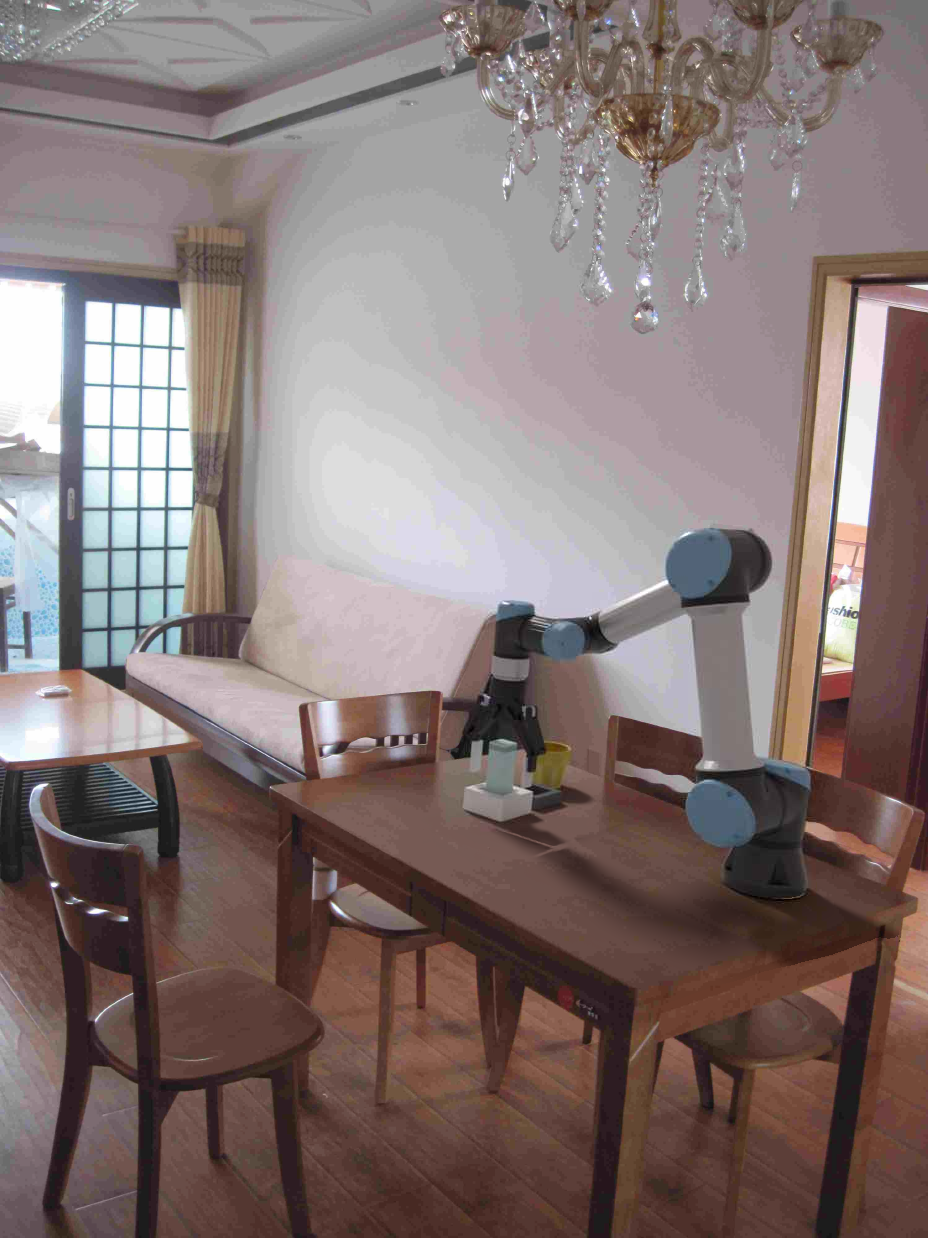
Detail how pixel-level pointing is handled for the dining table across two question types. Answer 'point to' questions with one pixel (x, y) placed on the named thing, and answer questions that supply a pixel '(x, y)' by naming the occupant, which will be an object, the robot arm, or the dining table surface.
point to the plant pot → (552, 765)
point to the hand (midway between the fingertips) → (499, 779)
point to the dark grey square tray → (543, 796)
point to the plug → (501, 767)
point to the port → (497, 802)
